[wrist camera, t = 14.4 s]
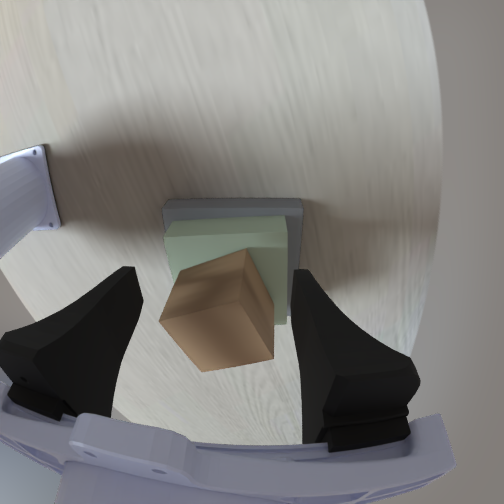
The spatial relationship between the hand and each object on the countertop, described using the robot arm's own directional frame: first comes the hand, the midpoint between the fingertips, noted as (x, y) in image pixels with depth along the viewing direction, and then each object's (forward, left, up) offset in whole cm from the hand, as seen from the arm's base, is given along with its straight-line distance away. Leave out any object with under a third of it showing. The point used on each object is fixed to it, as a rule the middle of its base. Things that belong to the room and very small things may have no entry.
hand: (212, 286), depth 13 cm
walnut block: (0, -5, -6) cm, 8 cm away
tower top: (0, -5, -9) cm, 10 cm away
